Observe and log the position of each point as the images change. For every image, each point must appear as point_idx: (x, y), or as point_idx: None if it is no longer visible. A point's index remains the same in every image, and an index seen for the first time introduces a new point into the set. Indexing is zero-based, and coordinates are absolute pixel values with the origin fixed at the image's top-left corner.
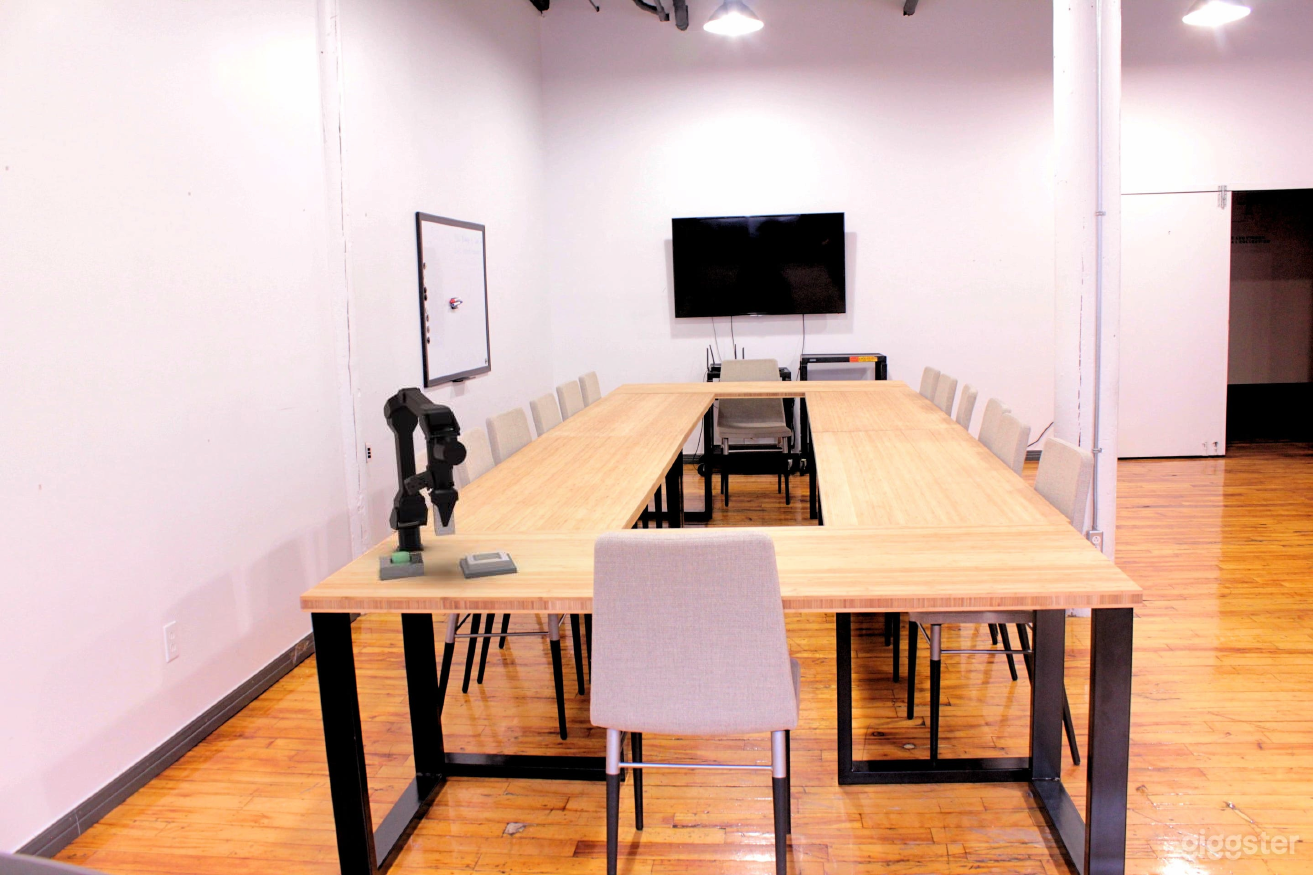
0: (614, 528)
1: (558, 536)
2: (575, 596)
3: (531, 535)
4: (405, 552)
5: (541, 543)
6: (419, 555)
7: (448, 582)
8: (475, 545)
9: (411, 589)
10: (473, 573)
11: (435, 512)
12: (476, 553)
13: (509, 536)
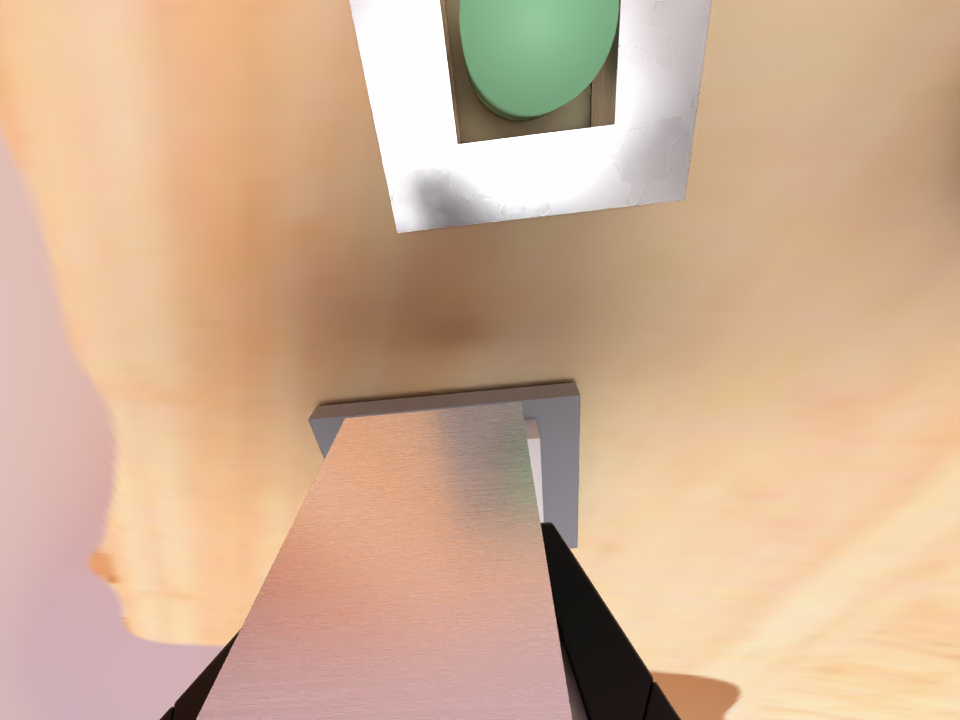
0: (757, 715)
1: (774, 636)
2: (133, 631)
3: (855, 588)
4: (566, 72)
5: (720, 603)
6: (606, 192)
7: (277, 339)
8: (871, 434)
9: (148, 155)
10: (320, 444)
11: (219, 706)
12: (537, 478)
13: (907, 537)
